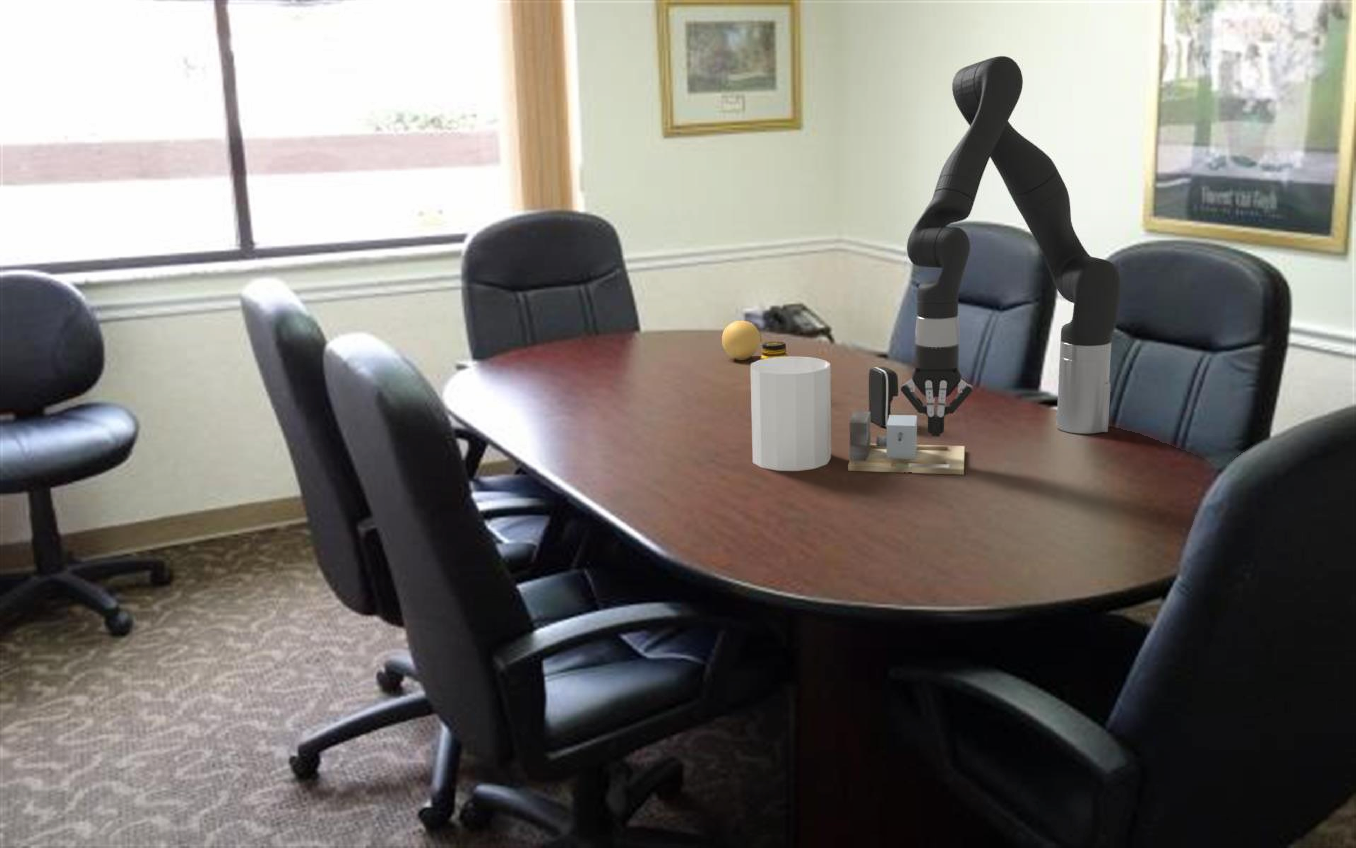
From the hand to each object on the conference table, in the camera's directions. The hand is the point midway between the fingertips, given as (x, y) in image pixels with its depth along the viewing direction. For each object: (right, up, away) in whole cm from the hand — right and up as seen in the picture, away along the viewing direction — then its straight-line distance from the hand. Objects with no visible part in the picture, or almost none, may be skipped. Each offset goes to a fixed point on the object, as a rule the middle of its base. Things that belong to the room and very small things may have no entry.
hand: (935, 435), depth 213 cm
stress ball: (-30, +18, +91) cm, 97 cm away
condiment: (-25, +8, +54) cm, 60 cm away
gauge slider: (-7, -4, +1) cm, 8 cm away
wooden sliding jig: (-5, -5, +2) cm, 7 cm away
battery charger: (-5, +2, +27) cm, 28 cm away
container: (-25, -5, +6) cm, 26 cm away
